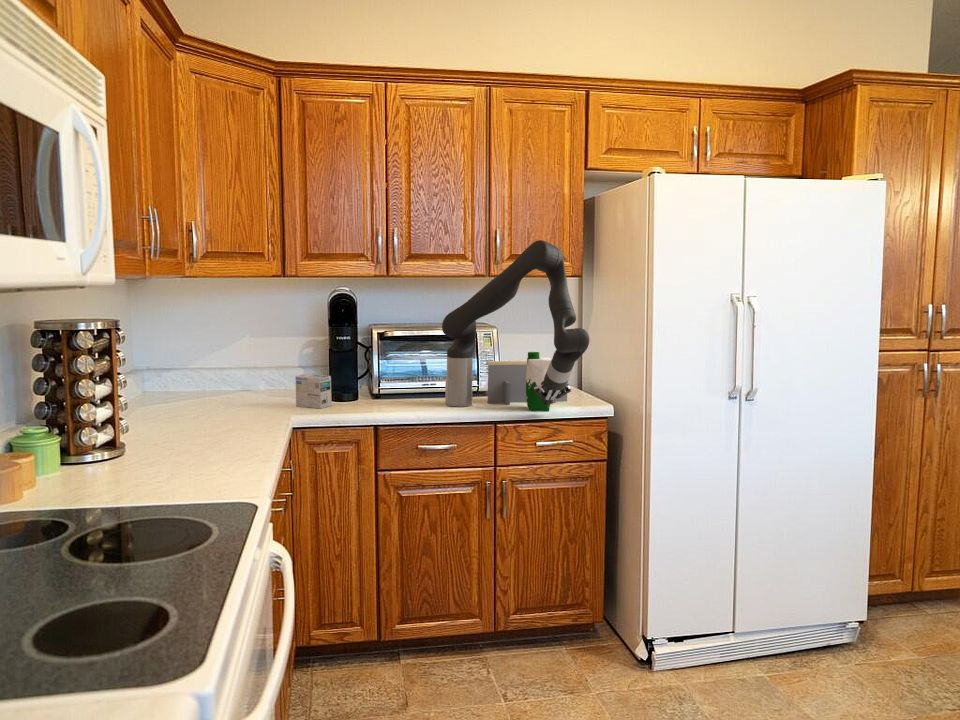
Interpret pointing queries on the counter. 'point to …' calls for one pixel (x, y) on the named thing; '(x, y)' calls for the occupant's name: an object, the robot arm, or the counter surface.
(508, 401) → the grey backboard
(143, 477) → the counter surface
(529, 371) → the soya milk
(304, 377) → the light bulb box
